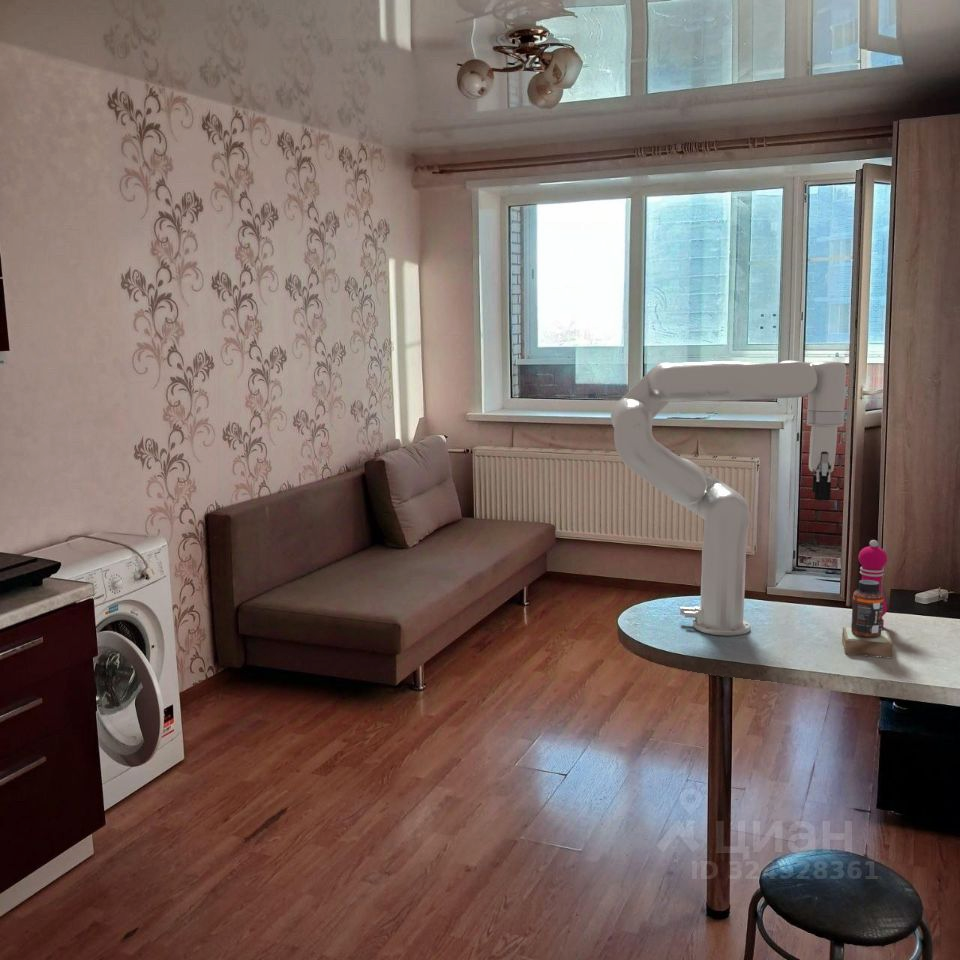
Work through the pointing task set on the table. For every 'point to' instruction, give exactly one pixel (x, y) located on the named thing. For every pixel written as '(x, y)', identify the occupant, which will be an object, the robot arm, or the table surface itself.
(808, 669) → the table surface
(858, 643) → the base
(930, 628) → the table surface
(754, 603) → the table surface
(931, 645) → the table surface
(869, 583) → the supplement bottle
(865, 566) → the pepper mill
